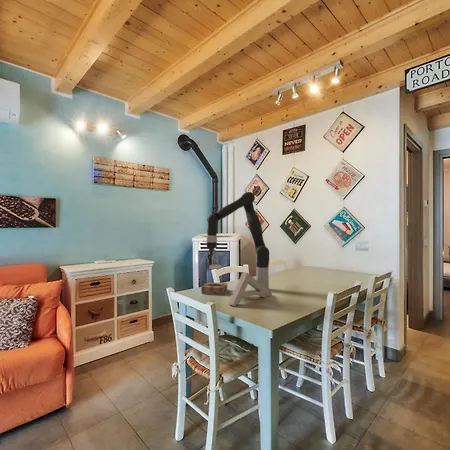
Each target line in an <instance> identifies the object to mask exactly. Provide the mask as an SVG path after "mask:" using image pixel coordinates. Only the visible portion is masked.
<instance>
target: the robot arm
mask: <svg viewBox="0 0 450 450" xmlns="http://www.w3.org/2000/svg"><path fill="white" fill-rule="evenodd" d="M254 201H255V194H254V193H253V192H251V191H246V192H244V193H242V195H241V196H240V197H239V198H238V199H236V200H234V201H232V202H231V203H229V204H227V205H225V206H223V207H222V208H220V209H219V210H217V211H215V212H213V213H211V214H209V215H208V216H207V218H206V220H207V230H206V231H207V232H206V248H207V249H208V250H207V252H206V253H207V260H208V266H209V265H212V257H213V265H215V263H214V261H215V258H216V256H215V255H216V248H217V247H218V235H217V234H218V231H217V228H218V221H220V220H221V219H224V218H227V216H230V215H231V214H233V213H235V212H236V211H237V210H239V209H240V208H242V207H243V209H244V212H245V215H246V220H247V225H248V228H249V231H250V234H251V237H252V240H253V243H254V249H255V254H256V272H255V273H256V277H255V279H256V280H257V281H258V282H259V283H261V284H262V285H263V286H264V287H265V288H267V289H268V290H269V289H270V287H269V286H270V283H269V282H270V281H269V280H270V279H269V278H270V275H269V272H270V271H269V265H270V250H269V248H268V247H267V246H266V243H265V241H264V237H263V235H264V234H263V226H262V223H261V220H260V218H259V215H258V214H257V212H256V210H255V207H254ZM211 255H212V256H211ZM269 291H270V290H269Z"/></svg>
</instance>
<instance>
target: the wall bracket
mask: <svg viewBox="0 0 450 450" xmlns="http://www.w3.org/2000/svg"><path fill="white" fill-rule="evenodd" d="M248 285H249V286H250V287H251V288H252V289H251V290H250V289H248V290H246V289H247V287H248ZM250 296H251V297H252V296H258V297H260V298H264V299H266V297H267V298H269V297H270V296H273V292H272V291H271V290H268V289H267V288H265V287H264V286H263V285H262V284H261V283H259V282H258V281H257V280H256V278H255V277H253V276H252V275H251V274H250V273H248V272H245V271H243V272H242V273H241V275H240V277H239V280H238V282H237V284H236V286H235V288H234V290H233V292H232V295H231V297H230V299H229V301H228V305H230V306H232V307H236V306H237V305H239V304H240V303H241V300H242V299H246V298H249V297H250Z"/></svg>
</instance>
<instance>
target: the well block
mask: <svg viewBox="0 0 450 450" xmlns="http://www.w3.org/2000/svg"><path fill="white" fill-rule="evenodd" d="M200 288H201V290H200V291H201V295H217V296H218V295H220V296H222V295H225V294H226V292H227V291H228V283H226V282H208V281H207V282H206V283H204V284H203V285H201V287H200Z"/></svg>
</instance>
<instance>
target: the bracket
mask: <svg viewBox="0 0 450 450" xmlns="http://www.w3.org/2000/svg"><path fill="white" fill-rule="evenodd" d="M211 256H212V255H211ZM208 266H209V267H208V269H210V270H211V269H212V270H222V265H221V264H213V257H212V265H209V264H208Z"/></svg>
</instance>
